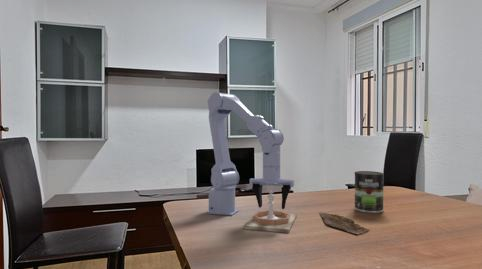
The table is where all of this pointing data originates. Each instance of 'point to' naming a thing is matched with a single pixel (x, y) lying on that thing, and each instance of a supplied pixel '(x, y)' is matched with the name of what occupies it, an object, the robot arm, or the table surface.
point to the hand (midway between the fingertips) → (271, 207)
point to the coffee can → (369, 191)
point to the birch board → (276, 228)
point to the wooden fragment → (343, 223)
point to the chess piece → (271, 207)
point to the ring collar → (271, 221)
